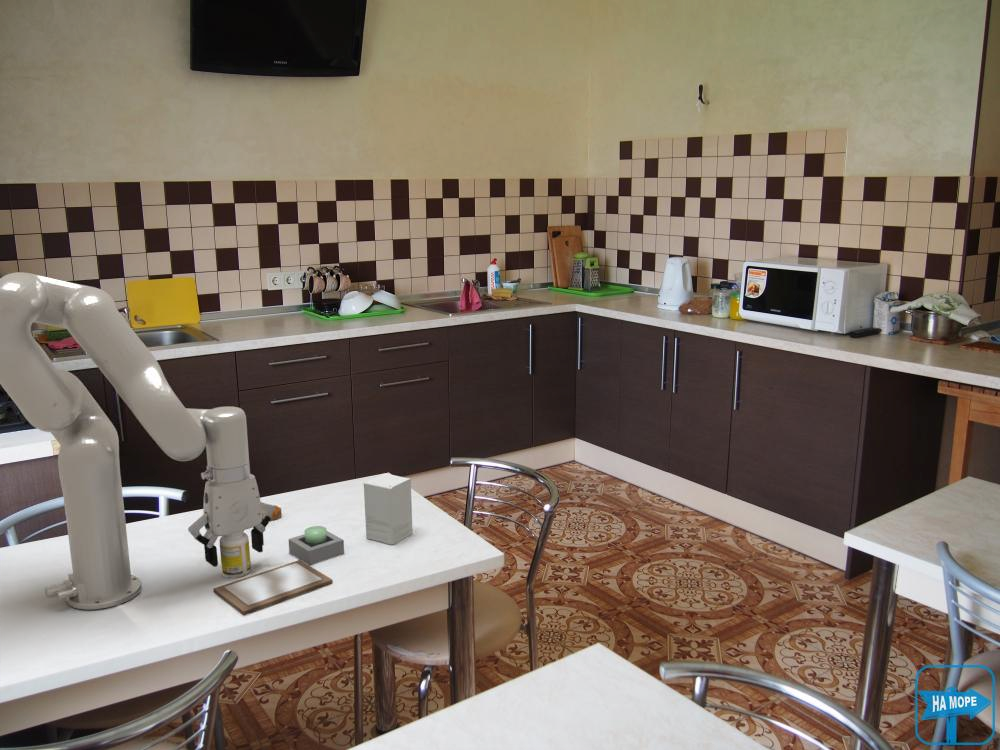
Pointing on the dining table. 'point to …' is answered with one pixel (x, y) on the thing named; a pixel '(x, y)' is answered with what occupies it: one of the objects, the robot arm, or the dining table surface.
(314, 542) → the button
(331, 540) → the button housing
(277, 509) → the pastry
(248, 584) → the board
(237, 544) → the supplement bottle
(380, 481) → the supplement box
